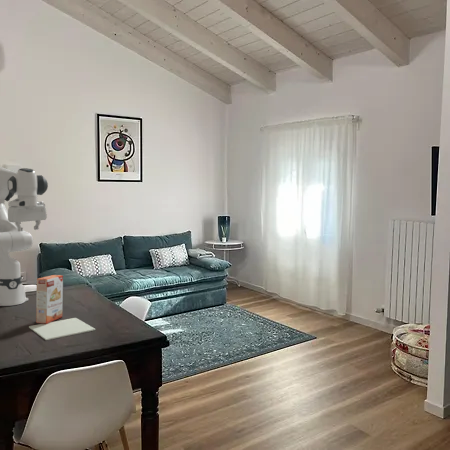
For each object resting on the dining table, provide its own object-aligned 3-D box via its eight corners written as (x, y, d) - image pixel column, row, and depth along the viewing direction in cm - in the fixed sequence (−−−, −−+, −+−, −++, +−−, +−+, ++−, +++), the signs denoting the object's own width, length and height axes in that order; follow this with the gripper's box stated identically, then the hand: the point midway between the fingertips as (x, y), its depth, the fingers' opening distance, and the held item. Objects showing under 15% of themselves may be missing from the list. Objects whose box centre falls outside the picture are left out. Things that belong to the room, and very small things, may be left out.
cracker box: (47, 324, 216) (47, 279, 215) (35, 323, 217) (35, 278, 216) (63, 317, 230) (63, 274, 229) (52, 316, 231) (52, 274, 230)
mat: (28, 327, 213) (28, 326, 213) (75, 318, 228) (75, 317, 227) (46, 340, 197) (46, 339, 197) (95, 330, 211) (95, 328, 211)
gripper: (40, 201, 237) (41, 228, 239) (5, 202, 219) (6, 231, 221) (49, 201, 235) (49, 228, 236) (14, 203, 216) (15, 232, 218)
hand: (28, 230), depth 228 cm, fingers open, 8 cm apart
